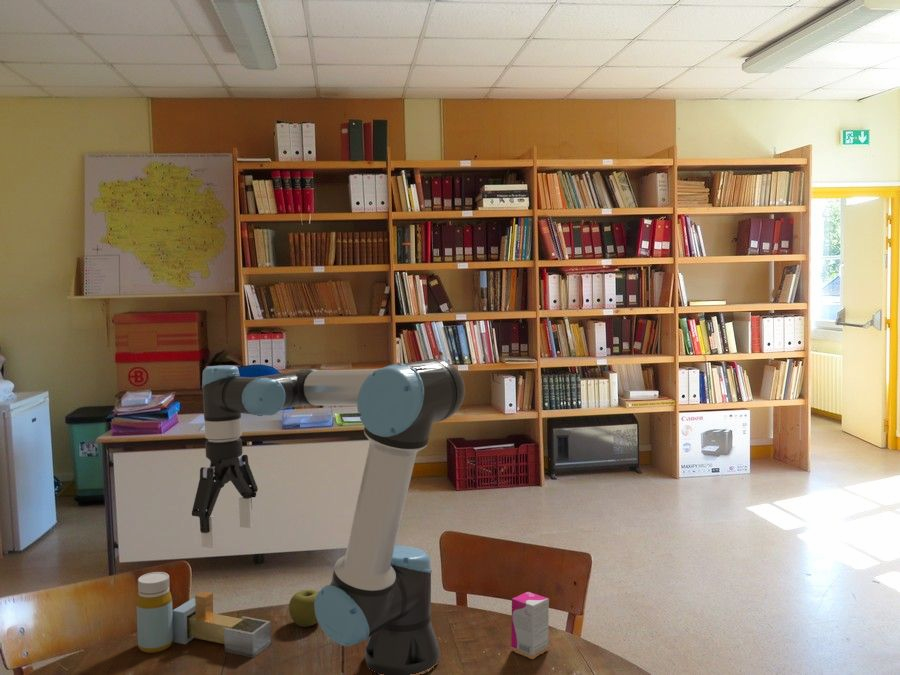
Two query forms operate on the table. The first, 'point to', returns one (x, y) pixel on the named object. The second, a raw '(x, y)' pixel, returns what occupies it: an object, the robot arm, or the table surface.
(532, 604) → the supplement box
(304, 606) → the apple
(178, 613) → the socket block
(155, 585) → the bottle
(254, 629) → the sleeve
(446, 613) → the table surface
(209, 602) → the yellow orange l-shaped block
